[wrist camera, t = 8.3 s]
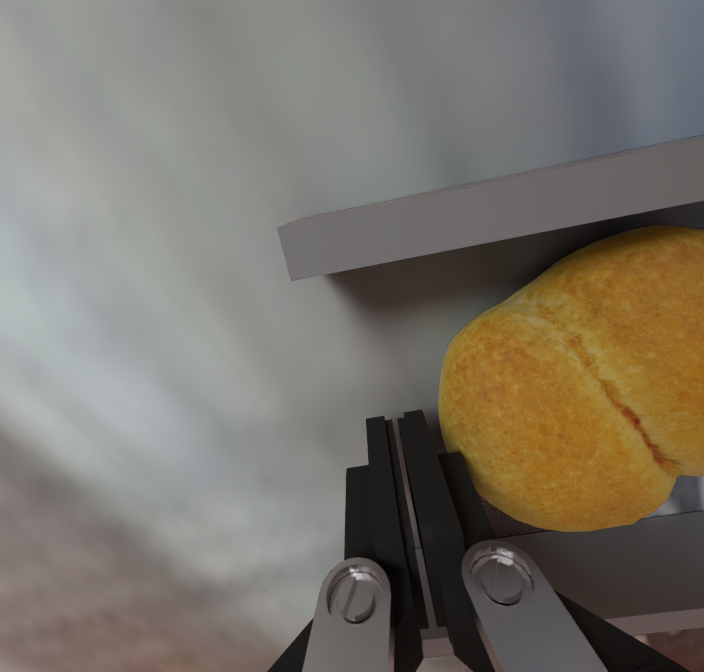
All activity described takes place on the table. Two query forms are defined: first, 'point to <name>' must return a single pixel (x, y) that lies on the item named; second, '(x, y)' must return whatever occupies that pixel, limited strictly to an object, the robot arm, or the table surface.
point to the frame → (514, 221)
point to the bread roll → (585, 384)
